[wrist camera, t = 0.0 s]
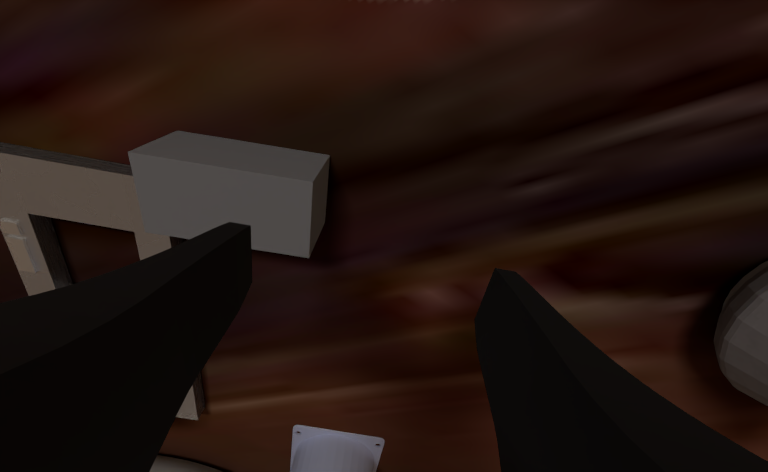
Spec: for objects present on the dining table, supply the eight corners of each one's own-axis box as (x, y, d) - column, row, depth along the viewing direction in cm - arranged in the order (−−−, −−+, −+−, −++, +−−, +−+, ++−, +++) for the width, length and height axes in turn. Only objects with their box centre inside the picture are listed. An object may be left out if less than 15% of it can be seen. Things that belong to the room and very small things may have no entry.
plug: (330, 154, 19) (312, 181, 16) (325, 220, 21) (308, 258, 18) (179, 129, 19) (127, 151, 15) (189, 198, 21) (145, 232, 17)
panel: (205, 407, 30) (196, 422, 29) (85, 388, 30) (71, 403, 29) (173, 173, 20) (158, 182, 19) (-11, 140, 20) (-39, 147, 18)
